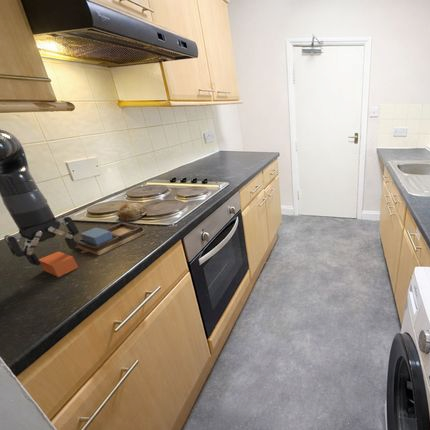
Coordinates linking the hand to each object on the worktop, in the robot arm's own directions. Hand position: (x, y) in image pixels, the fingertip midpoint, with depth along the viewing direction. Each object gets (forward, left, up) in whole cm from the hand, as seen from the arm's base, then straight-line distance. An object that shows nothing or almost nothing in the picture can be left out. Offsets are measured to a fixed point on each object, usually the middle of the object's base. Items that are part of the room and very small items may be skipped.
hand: (56, 256), depth 79 cm
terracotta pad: (0, 0, -5) cm, 5 cm away
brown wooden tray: (+17, +4, -5) cm, 18 cm away
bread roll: (+33, +17, -5) cm, 37 cm away
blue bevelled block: (+13, +4, -3) cm, 14 cm away
